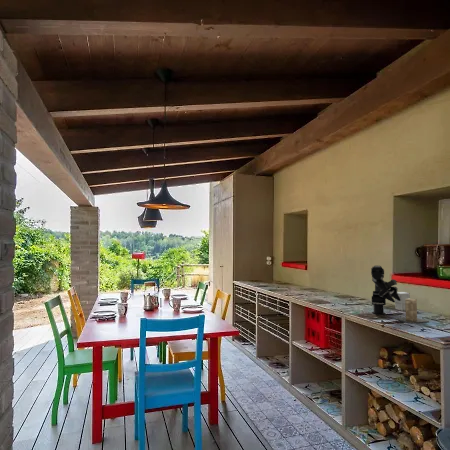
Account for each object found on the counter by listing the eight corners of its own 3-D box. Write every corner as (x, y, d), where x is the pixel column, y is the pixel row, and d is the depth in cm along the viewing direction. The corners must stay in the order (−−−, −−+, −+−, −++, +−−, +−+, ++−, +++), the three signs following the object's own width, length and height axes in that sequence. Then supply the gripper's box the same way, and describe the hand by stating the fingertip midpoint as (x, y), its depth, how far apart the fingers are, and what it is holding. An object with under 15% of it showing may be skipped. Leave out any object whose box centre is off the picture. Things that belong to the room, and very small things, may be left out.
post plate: (394, 318, 237) (394, 312, 237) (412, 317, 241) (411, 311, 241) (410, 323, 224) (410, 316, 224) (429, 322, 227) (429, 315, 228)
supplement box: (403, 308, 272) (403, 291, 273) (410, 310, 265) (410, 293, 265) (394, 309, 271) (394, 292, 271) (401, 310, 263) (401, 293, 264)
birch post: (405, 319, 232) (405, 299, 233) (409, 318, 236) (408, 298, 236) (414, 320, 229) (413, 300, 229) (417, 319, 232) (416, 299, 233)
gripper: (382, 276, 238) (400, 294, 229) (394, 274, 250) (411, 292, 242) (371, 287, 243) (388, 305, 234) (383, 285, 256) (399, 302, 247)
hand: (397, 301), depth 239 cm, fingers open, 9 cm apart
